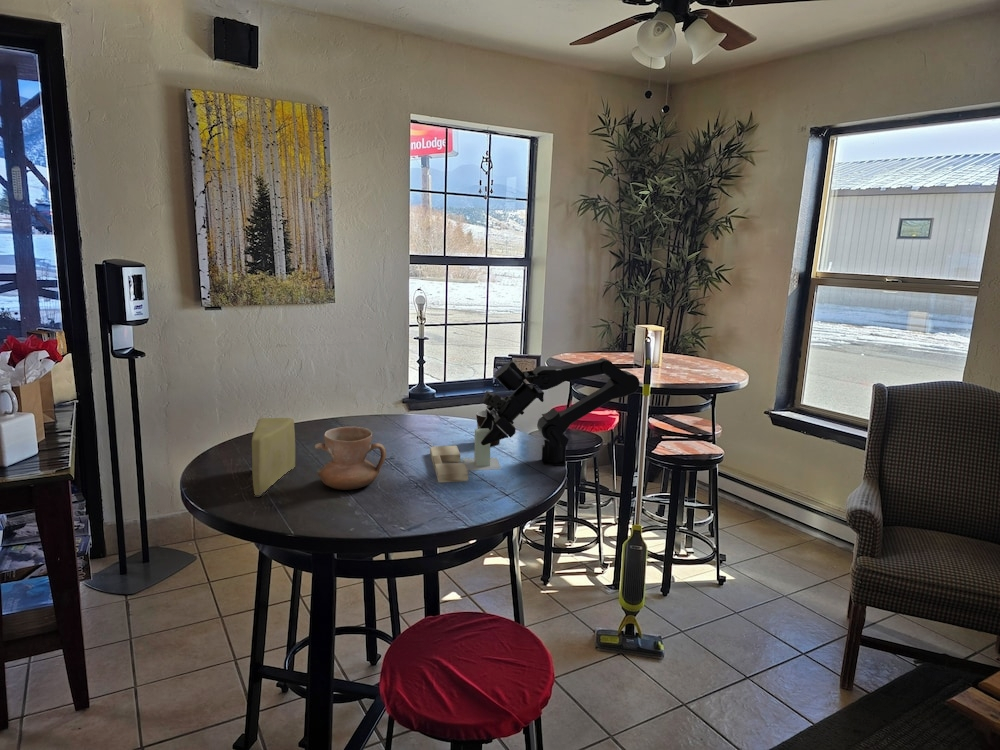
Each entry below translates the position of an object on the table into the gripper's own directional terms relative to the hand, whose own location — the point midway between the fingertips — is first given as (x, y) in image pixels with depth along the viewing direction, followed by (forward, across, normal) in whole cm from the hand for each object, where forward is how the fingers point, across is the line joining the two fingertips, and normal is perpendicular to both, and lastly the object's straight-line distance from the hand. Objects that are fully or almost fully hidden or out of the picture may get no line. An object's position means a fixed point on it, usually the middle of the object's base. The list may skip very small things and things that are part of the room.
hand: (479, 439), depth 184 cm
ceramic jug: (+31, +11, -19) cm, 38 cm away
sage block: (+5, 0, +6) cm, 7 cm away
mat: (+5, 0, +6) cm, 8 cm away
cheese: (+46, +7, -34) cm, 58 cm away
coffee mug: (+1, -21, +10) cm, 23 cm away
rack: (+11, +1, 0) cm, 11 cm away
